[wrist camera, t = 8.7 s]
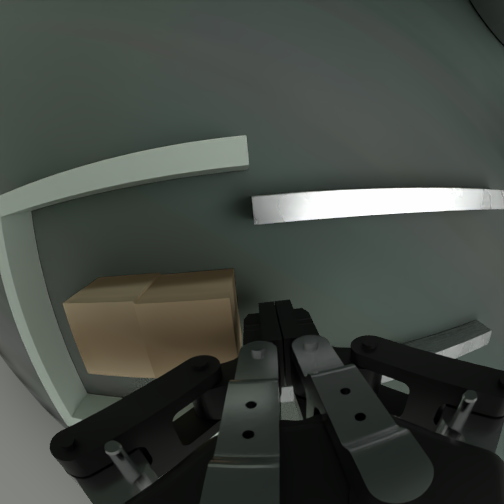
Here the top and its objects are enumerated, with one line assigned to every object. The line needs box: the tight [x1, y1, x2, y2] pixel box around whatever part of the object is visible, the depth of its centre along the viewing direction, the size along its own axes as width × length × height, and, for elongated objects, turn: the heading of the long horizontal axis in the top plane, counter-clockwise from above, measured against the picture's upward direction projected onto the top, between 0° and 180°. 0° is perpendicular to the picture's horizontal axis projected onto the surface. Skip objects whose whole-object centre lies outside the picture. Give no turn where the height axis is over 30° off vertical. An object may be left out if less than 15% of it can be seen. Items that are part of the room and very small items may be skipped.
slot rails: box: [251, 187, 504, 402], centre depth 14 cm, size 11×17×2 cm
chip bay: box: [0, 135, 249, 437], centre depth 14 cm, size 16×15×3 cm
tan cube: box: [134, 268, 242, 379], centre depth 13 cm, size 4×4×4 cm
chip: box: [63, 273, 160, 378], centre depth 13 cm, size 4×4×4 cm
